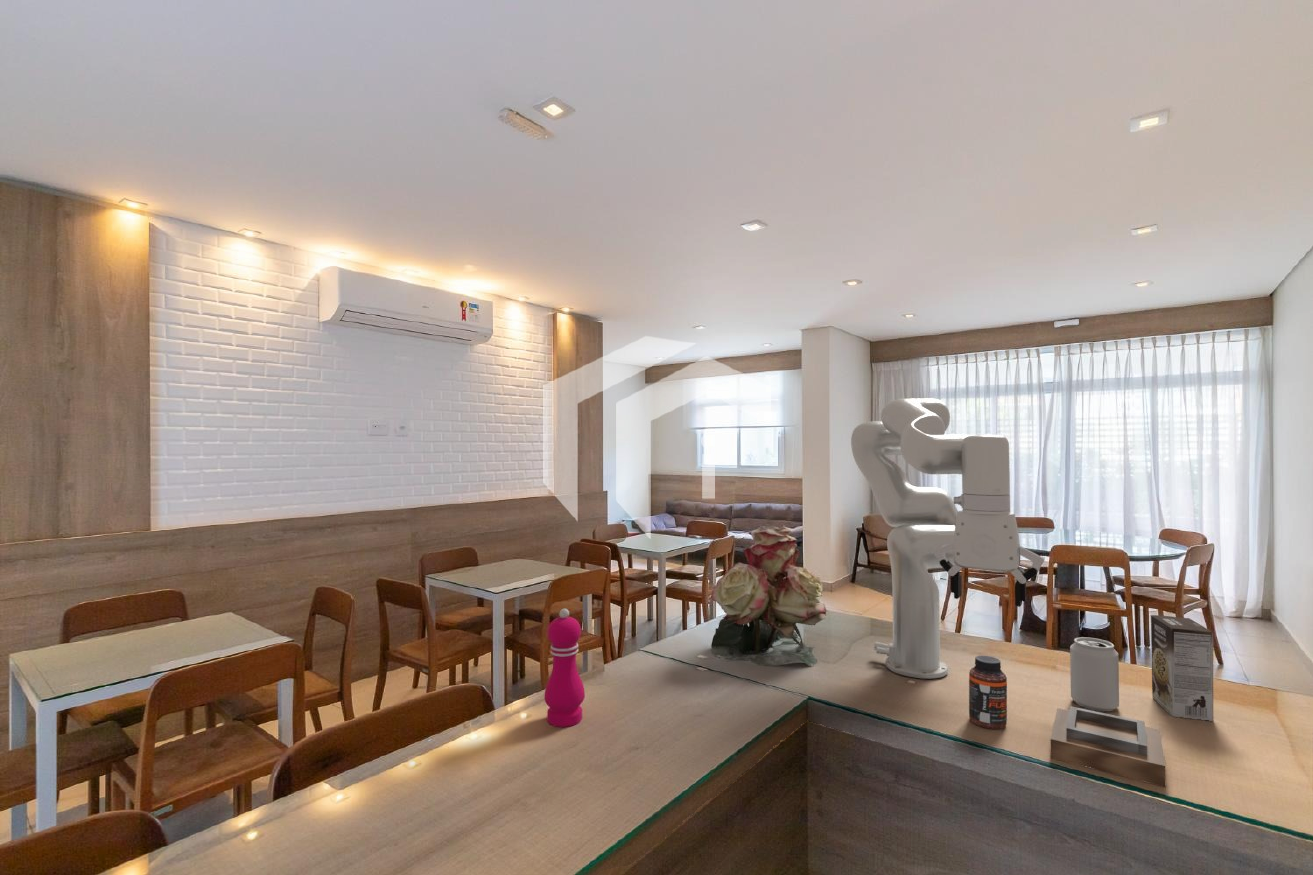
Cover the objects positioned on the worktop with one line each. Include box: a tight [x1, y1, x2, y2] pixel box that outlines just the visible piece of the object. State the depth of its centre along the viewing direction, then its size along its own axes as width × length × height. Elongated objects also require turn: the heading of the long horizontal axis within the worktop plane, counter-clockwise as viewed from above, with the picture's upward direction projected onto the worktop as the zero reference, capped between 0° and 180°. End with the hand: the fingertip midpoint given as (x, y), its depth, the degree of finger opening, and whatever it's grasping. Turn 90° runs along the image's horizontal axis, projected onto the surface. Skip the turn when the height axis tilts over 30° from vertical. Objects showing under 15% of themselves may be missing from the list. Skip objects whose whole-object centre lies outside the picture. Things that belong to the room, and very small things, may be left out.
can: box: [1069, 636, 1120, 713], centre depth 117 cm, size 8×8×12 cm
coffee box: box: [1150, 614, 1215, 722], centre depth 115 cm, size 9×6×16 cm
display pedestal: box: [1050, 706, 1167, 788], centre depth 99 cm, size 14×14×4 cm
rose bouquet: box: [710, 524, 827, 667], centre depth 149 cm, size 26×29×30 cm
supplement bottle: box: [968, 655, 1008, 730], centre depth 110 cm, size 6×6×11 cm
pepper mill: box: [544, 608, 586, 728], centre depth 112 cm, size 7×7×20 cm
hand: (987, 601), depth 110 cm, fingers open, 9 cm apart
